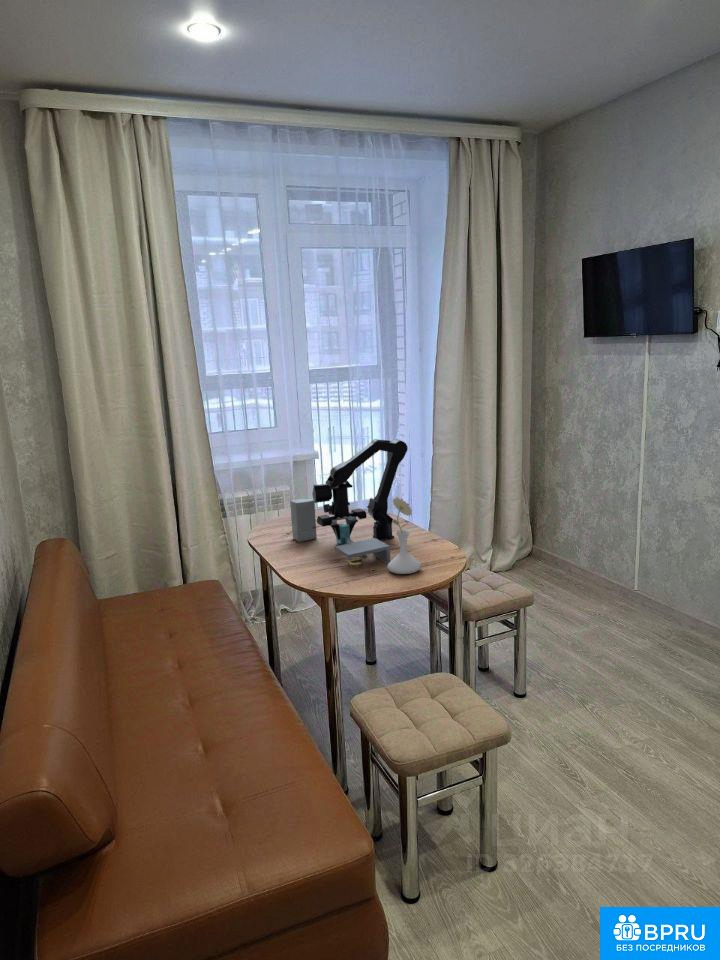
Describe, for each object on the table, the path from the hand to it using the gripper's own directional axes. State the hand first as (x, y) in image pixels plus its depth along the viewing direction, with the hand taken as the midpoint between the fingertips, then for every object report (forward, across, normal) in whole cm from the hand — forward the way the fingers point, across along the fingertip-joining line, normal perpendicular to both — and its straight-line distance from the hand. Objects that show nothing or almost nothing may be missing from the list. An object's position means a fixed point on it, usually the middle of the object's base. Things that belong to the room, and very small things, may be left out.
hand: (343, 538), depth 254 cm
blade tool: (+1, 0, +8) cm, 8 cm away
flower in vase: (+2, -4, +39) cm, 39 cm away
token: (+2, +7, +24) cm, 26 cm away
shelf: (+2, +4, +24) cm, 25 cm away
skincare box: (+2, +10, -15) cm, 18 cm away
